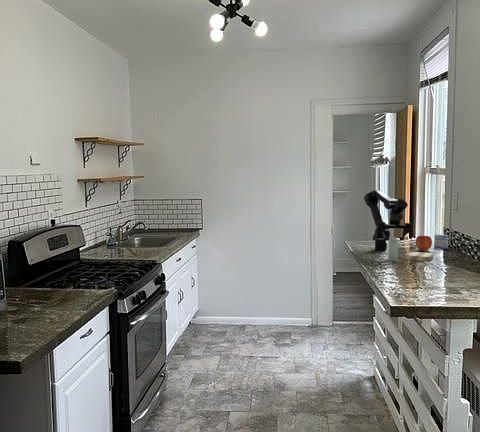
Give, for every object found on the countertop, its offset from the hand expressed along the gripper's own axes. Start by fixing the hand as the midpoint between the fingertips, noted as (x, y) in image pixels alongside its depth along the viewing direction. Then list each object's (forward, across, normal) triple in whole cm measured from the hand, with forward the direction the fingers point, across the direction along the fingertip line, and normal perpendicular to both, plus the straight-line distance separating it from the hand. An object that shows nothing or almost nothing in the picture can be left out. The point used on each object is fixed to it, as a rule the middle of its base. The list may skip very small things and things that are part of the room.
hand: (394, 238), depth 269 cm
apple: (-14, +17, +31) cm, 38 cm away
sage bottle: (+12, 0, +4) cm, 13 cm away
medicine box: (-25, +28, +41) cm, 55 cm away
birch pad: (+4, +14, +12) cm, 19 cm away
